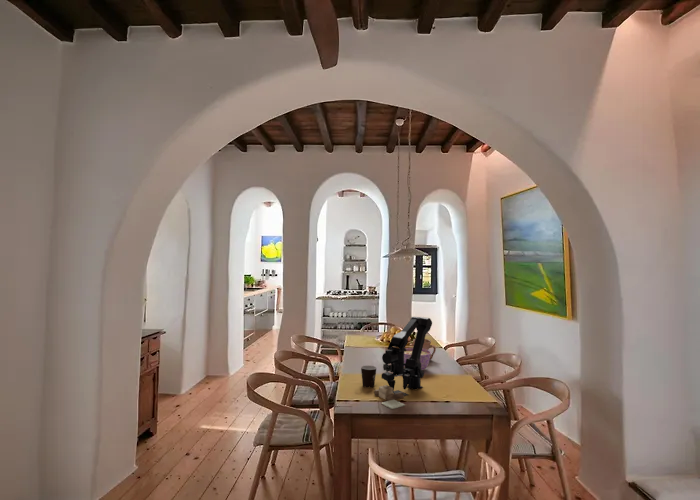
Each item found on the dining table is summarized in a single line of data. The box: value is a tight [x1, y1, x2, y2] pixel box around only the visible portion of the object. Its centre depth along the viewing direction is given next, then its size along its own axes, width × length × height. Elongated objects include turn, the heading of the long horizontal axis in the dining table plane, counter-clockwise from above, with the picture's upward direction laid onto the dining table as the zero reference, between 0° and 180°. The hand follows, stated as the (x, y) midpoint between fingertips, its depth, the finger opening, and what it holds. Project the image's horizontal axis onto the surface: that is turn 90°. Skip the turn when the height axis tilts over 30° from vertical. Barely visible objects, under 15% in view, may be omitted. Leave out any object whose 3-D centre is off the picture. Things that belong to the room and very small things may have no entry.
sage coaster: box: [380, 399, 406, 410], centre depth 187 cm, size 8×8×1 cm
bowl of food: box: [404, 347, 432, 371], centre depth 248 cm, size 20×20×12 cm
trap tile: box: [393, 389, 410, 397], centre depth 203 cm, size 5×8×1 cm, turn 35°
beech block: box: [378, 385, 394, 400], centre depth 198 cm, size 5×5×5 cm
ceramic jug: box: [409, 338, 437, 362], centre depth 271 cm, size 18×14×14 cm
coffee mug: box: [360, 364, 377, 389], centre depth 216 cm, size 12×9×10 cm
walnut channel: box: [373, 388, 404, 402], centre depth 199 cm, size 10×11×2 cm
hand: (398, 390), depth 203 cm, fingers open, 8 cm apart
